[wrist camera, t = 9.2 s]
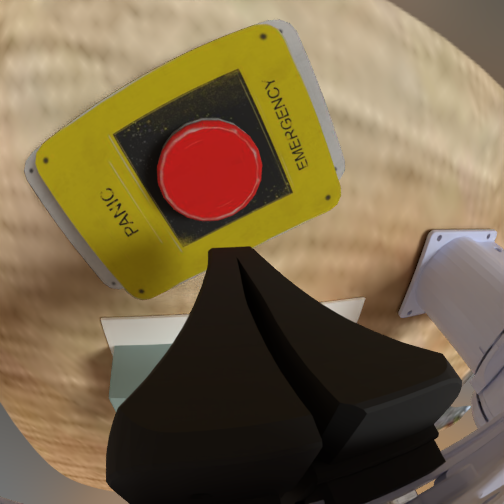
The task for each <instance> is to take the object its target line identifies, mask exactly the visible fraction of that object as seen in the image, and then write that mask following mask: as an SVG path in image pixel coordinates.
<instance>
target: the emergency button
mask: <svg viewBox="0 0 504 504" xmlns="http://www.w3.org/2000/svg"><path fill="white" fill-rule="evenodd" d="M344 171H345V160H344V157H343V153H342V150H341V147H340V144H339V141H338V138H337V135H336V132H335V129H334V126H333V123H332V120H331V117H330V114H329V111H328V108H327V105H326V103H325V100H324V97H323V94H322V92H321V89H320V86H319V84H318V81H317V79H316V76H315V74H314V71H313V68H312V66H311V64H310V61H309V59H308V56H307V54H306V51H305V49H304V47H303V44H302V42H301V40H300V38H299V35H298V33H297V31H296V30H295V29H294V27H293V26H292V25H291V24H290V23H288V22H285V21H282V20H280V19H279V20H268V21H265V22H262V23H259V24H256V25H253V26H250V27H247V28H244V29H241V30H239V31H236V32H233V33H231V34H228V35H226V36H223V37H221V38H218V39H216V40H214V41H211V42H209V43H207V44H204V45H202V46H200V47H198V48H195V49H193V50H191V51H189V52H187V53H185V54H183V55H180V56H178V57H176V58H174V59H172V60H170V61H168V62H166V63H164V64H163V65H161V66H159V67H157V68H155V69H153V70H151V71H149V72H148V73H146V74H144V75H142V76H140V77H139V78H137V79H135V80H133V81H132V82H130V83H128V84H127V85H125V86H123V87H122V88H120V89H118V90H117V91H115V92H114V93H112V94H110V95H109V96H107V97H106V98H104V99H103V100H101V101H100V102H98V103H97V104H95V105H94V106H92V107H91V108H89V109H88V110H86V111H85V112H84V113H82V114H81V115H79V116H78V117H77V118H75V119H74V120H72V121H71V122H70V123H68V124H67V125H66V126H64V127H63V128H62V129H60V130H59V131H58V132H57V133H55V134H54V135H53V136H52V137H50V138H49V139H48V140H47V141H45V142H44V143H43V144H42V145H41V146H39V147H38V148H37V149H36V150H35V151H34V152H32V153H31V155H30V156H29V158H28V159H27V160H26V164H25V169H24V172H25V175H26V178H27V181H28V182H29V184H30V185H31V187H32V188H33V190H34V191H35V193H36V194H37V196H38V197H39V199H40V200H41V202H42V203H43V205H44V206H45V208H46V209H47V210H48V212H49V213H50V215H51V216H52V218H53V219H54V220H55V222H56V223H57V225H58V226H59V227H60V229H61V230H62V231H63V233H64V234H65V235H66V237H67V238H68V239H69V241H70V242H71V243H72V245H73V246H74V247H75V249H76V250H77V251H78V252H79V254H80V255H81V256H82V257H83V259H84V260H85V261H86V262H87V264H88V265H89V266H90V267H91V269H92V270H93V271H94V272H95V273H96V275H97V276H98V277H99V278H100V279H101V281H102V282H103V283H104V284H105V285H107V286H108V287H110V288H114V289H122V288H124V290H125V291H126V292H127V293H128V294H130V295H131V296H132V297H134V298H136V299H140V300H147V299H151V298H153V297H155V296H157V295H159V294H161V293H163V292H165V291H167V290H169V289H171V288H173V287H175V286H177V285H179V284H182V283H184V282H186V281H188V280H190V279H192V278H194V277H196V276H198V275H200V274H202V273H204V272H206V270H207V265H208V251H209V250H210V249H211V248H222V247H245V246H250V247H252V248H254V247H256V246H258V245H260V244H262V243H264V242H266V241H269V240H271V239H273V238H275V237H277V236H279V235H281V234H283V233H285V232H287V231H289V230H291V229H293V228H295V227H297V226H299V225H301V224H303V223H305V222H307V221H309V220H311V219H313V218H315V217H317V216H319V215H321V214H323V213H325V212H327V211H329V210H331V209H332V208H333V207H335V206H336V205H337V204H338V201H339V199H340V197H341V186H340V183H339V179H340V178H341V176H342V175H343V173H344Z"/></svg>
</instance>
